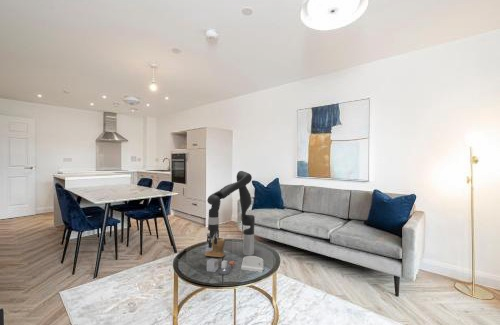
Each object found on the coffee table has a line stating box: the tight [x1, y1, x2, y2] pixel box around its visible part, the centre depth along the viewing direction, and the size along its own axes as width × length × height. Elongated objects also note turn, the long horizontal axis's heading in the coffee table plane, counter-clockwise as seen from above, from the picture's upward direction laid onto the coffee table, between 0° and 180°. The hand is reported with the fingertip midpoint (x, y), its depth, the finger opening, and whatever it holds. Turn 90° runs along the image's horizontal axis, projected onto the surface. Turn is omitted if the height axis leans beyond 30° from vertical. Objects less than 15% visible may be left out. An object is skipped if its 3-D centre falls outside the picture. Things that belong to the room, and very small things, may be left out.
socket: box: [206, 258, 219, 273], centre depth 170 cm, size 6×6×7 cm
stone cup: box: [204, 237, 226, 258], centre depth 200 cm, size 15×12×15 cm
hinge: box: [240, 255, 265, 273], centre depth 174 cm, size 17×5×10 cm, turn 73°
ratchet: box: [218, 259, 236, 276], centre depth 172 cm, size 19×7×8 cm, turn 162°
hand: (212, 246), depth 171 cm, fingers open, 8 cm apart
